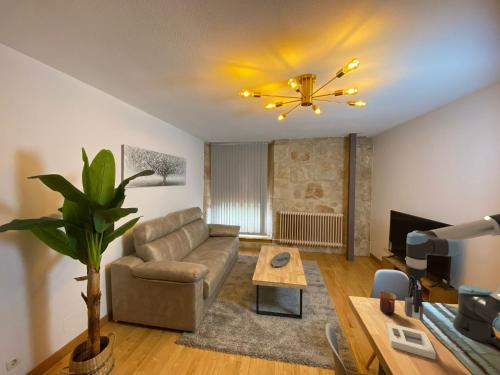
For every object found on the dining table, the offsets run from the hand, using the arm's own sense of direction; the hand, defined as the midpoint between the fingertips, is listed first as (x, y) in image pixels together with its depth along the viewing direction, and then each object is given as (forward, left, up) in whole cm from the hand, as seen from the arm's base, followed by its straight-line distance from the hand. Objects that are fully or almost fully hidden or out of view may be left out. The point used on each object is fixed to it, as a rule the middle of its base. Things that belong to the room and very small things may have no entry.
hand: (414, 315), depth 99 cm
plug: (0, 0, 0) cm, 0 cm away
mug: (+7, -22, -14) cm, 27 cm away
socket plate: (+2, 0, -14) cm, 14 cm away
